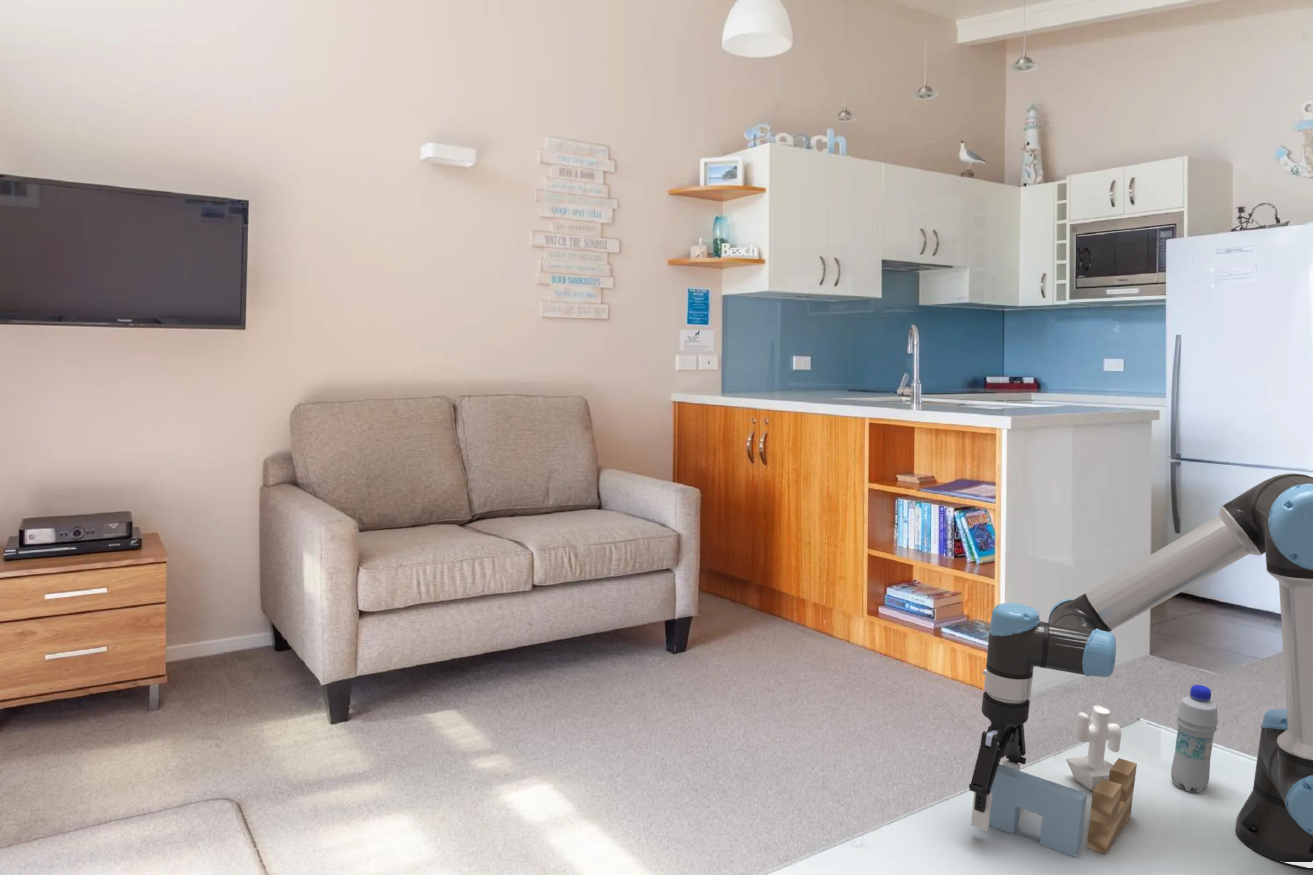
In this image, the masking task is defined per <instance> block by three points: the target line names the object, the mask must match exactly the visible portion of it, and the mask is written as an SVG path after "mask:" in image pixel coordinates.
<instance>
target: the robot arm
mask: <svg viewBox="0 0 1313 875" xmlns="http://www.w3.org/2000/svg"><path fill="white" fill-rule="evenodd" d="M1263 554H1265V562H1266V572H1267V573H1268V574H1269V575H1270V576H1272V577H1273V578H1274V579H1275V580H1276V581H1278V586H1279V603H1280V605H1279V606H1280V619H1281V620H1280V621H1281V634H1282V636H1281V637H1282V638H1281V640H1282V653H1283V654H1282V655H1283V673H1284V684H1285V686H1284V687H1285V702H1286V703H1285V704H1286V708H1273V709H1272V708H1271V709H1269V710H1267V711H1266V712H1265V713H1264V714H1263V719H1262V723H1261V724H1260V728H1261V729H1260V734H1259V735H1260V737H1259V742H1258V749H1257V750H1258V751H1257V757H1256V766H1255V772H1254V778H1253V779H1254V780H1253V788H1252V791H1251V792H1250V794H1249V796H1248V798H1247V799H1246V801H1245V803H1244V804H1243V806H1242V807H1241V810H1239V813H1238V814H1237V816H1236V821H1235V828H1234V831H1235V834H1236V836H1237V837H1238V839H1240V841H1241V842H1242V843H1243V844H1245V846H1246V847H1248V848H1250V849H1251V850H1253V851H1254V852H1256V853H1258V854H1260V855H1262V856H1264V857H1266V858H1268V859H1271V860H1274V861H1276V862H1279V861H1282V862H1312V861H1313V476H1310V475H1307V474H1303V473H1294V472H1293V473H1284V474H1278V475H1276V476H1273V477H1270V478H1267V479H1266V480H1263V481H1262V482H1259V483H1258V484H1257V485H1254V486H1253V487H1251V488H1249V489H1247V491H1244V492H1243V493H1241V494H1240V495H1238V496H1236V497H1235V498H1233V499H1232V500H1229V501H1228V502H1227V503H1225V504H1223V505H1221V506H1220V508H1219V512H1218V515H1217V516H1215V517H1214V518H1212V519H1209V520H1208V521H1207V522H1205V523H1203V524H1201V525H1200V526H1198V527H1197V528H1195V529H1193V530H1191V531H1190V532H1188V533H1186V534H1184V535H1183V536H1181V537H1179V538H1178V539H1176V540H1174V541H1172V542H1171V543H1169V544H1167V545H1166V546H1164V547H1162V548H1160V549H1159V550H1157V551H1155V552H1154V553H1152V554H1150V555H1148V556H1147V557H1145V558H1144V559H1142V560H1140V561H1138V562H1136V563H1134V564H1133V565H1131V566H1130V567H1128V568H1126V569H1125V570H1123V571H1120V572H1119V573H1118V574H1116V575H1115V576H1113V577H1110V578H1109V579H1107V580H1106V581H1104V582H1102V583H1101V584H1099V585H1097V586H1095V587H1094V588H1092V589H1090V590H1089V591H1087V592H1085V593H1083V594H1081V595H1079V596H1077V597H1076V598H1067V599H1061V600H1060V601H1058V602H1056V603H1055V604H1054V605H1053V606H1052V608H1051V610H1050V612H1049V616H1048V619H1047V620H1048V622H1045V621H1041V618H1040V613H1039V611H1038V610H1037V609H1036V608H1035V607H1032V606H1029V605H1024V604H1022V603H1016V602H1015V603H1014V602H1004V603H999V604H997V605H996V606H995V607H994V608H993V610H992V612H991V617H990V625H989V631H988V640H987V652H986V665H985V669H983V671H982V675H984V676H985V677H984V684H983V686H984V688H983V689H984V692H983V694H982V703H981V713H982V715H983V716H984V717H985V718H987V719H988V720H989V721H990V725H989V726H988V727H987V731H985V730H984V731H982V733H981V738H980V747H979V749H978V754H977V758H976V761H975V765H974V770H973V773H972V778H971V781H970V783H969V785H968V789H969V791H970V792H974V793H973V802H972V803H973V804H972V810H971V811H972V813H971V822H970V824H971V826H973V827H976V828H978V829H981V830H983V831H986V832H987V831H988V830H989V827H990V825H989V820H990V810H991V801H992V793H991V792H990V791H991V787H992V784H993V781H994V778H995V775H996V772H997V769H998V766H999V764H1000V762H1001V759H1002V758H1005V759H1004V760H1003V762H1002V763H1003V764H1002V765H1004V766H1006V767H1009V768H1012V769H1015V770H1018V771H1021V770H1020V769H1021V765H1026V764H1027V763H1026V762H1027V758H1026V757H1025V756H1026V749H1027V748H1026V740H1025V739H1026V738H1025V728H1024V724H1025V723H1026V722H1027V721H1028V720H1029V713H1030V704H1031V703H1030V702H1031V700H1030V698H1031V697H1032V687H1033V678H1034V667H1035V668H1041V669H1049V670H1053V671H1054V670H1055V671H1060V672H1065V673H1066V672H1067V673H1071V674H1077V675H1082V676H1085V677H1098V678H1099V677H1100V678H1108V677H1109V678H1110V676H1111V675H1113V672H1114V670H1115V663H1116V659H1117V658H1116V657H1117V656H1116V655H1117V641H1116V640H1117V639H1116V636H1115V634H1114V633H1112V631H1113V630H1115V629H1117V628H1118V627H1121V626H1122V625H1124V624H1126V623H1127V622H1129V621H1131V620H1133V619H1135V618H1137V617H1138V616H1140V615H1142V614H1144V613H1146V612H1147V611H1149V610H1150V609H1153V608H1154V607H1156V606H1158V605H1160V604H1162V603H1164V602H1165V601H1167V600H1169V599H1171V598H1173V597H1174V596H1176V595H1178V594H1180V593H1182V592H1183V591H1185V590H1186V589H1187V590H1188V589H1189V588H1191V587H1193V586H1194V585H1196V584H1198V583H1200V582H1201V581H1203V580H1205V579H1206V578H1208V577H1210V576H1212V575H1214V574H1215V573H1217V572H1220V571H1221V570H1223V569H1224V568H1226V567H1228V566H1231V565H1232V564H1233V563H1235V562H1237V561H1239V560H1241V559H1243V558H1245V557H1247V556H1248V555H1254V556H1261V555H1263ZM1282 862H1281V863H1282Z"/></svg>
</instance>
